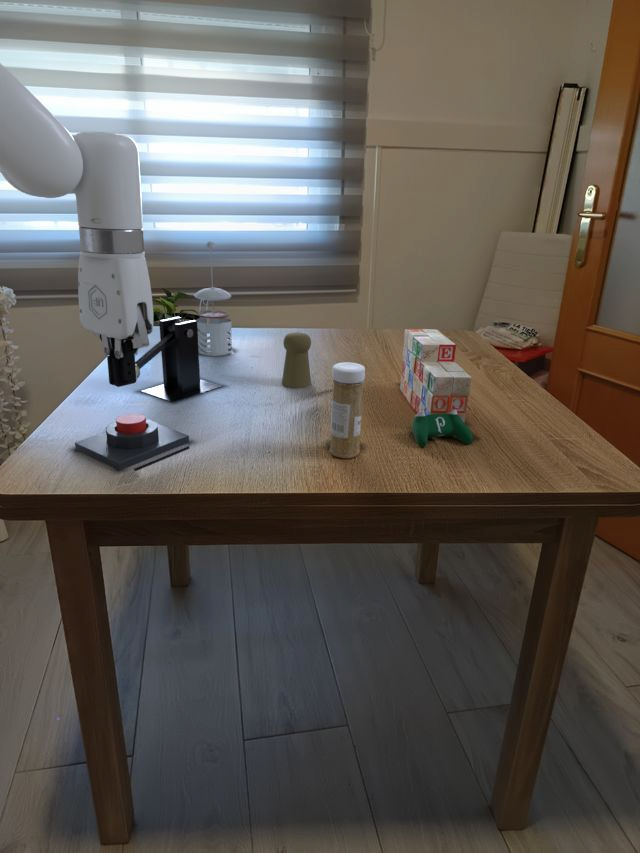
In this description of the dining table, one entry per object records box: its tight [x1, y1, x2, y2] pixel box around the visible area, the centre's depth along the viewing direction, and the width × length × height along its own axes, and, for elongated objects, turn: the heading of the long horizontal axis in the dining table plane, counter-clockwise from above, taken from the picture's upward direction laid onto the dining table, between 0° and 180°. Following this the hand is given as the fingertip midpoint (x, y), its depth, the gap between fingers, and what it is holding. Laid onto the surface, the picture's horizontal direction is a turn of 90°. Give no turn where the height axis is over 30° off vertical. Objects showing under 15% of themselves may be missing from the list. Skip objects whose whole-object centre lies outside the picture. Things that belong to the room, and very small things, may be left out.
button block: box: [74, 418, 190, 472], centre depth 82 cm, size 12×10×4 cm
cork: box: [281, 331, 312, 390], centre depth 109 cm, size 6×6×11 cm
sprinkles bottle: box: [329, 361, 366, 459], centre depth 83 cm, size 5×5×13 cm
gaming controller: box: [412, 410, 474, 448], centre depth 90 cm, size 9×4×6 cm
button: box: [115, 412, 147, 434], centre depth 81 cm, size 4×4×2 cm
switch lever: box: [135, 320, 186, 380], centre depth 99 cm, size 15×3×3 cm, turn 144°
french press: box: [193, 241, 237, 357], centre depth 127 cm, size 10×12×25 cm
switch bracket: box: [139, 316, 223, 404], centre depth 104 cm, size 12×9×14 cm
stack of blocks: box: [400, 328, 472, 423], centre depth 102 cm, size 21×6×12 cm, turn 5°
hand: (123, 383), depth 78 cm, fingers closed
